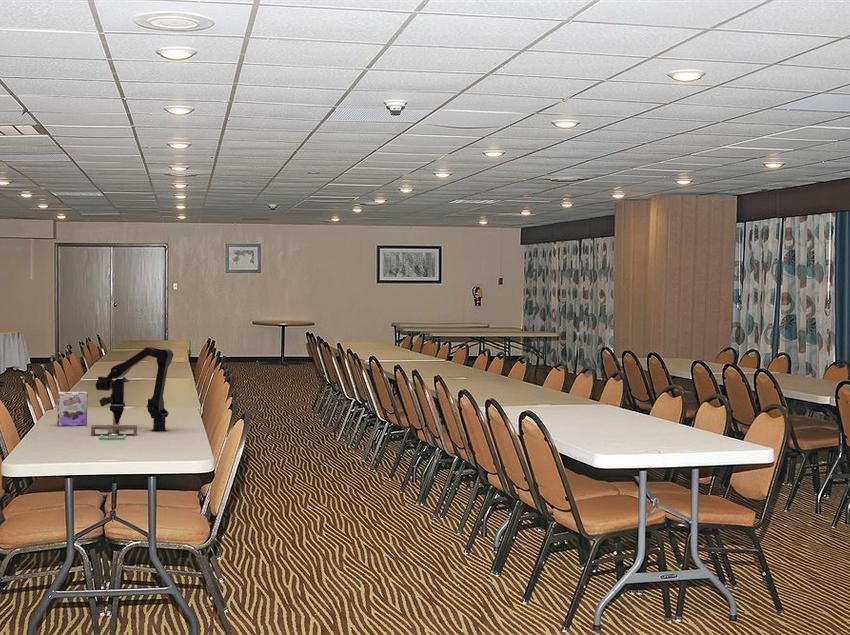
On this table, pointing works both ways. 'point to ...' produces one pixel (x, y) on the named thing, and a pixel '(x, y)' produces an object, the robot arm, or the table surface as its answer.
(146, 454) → the table surface
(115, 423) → the try square
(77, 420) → the candy box
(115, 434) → the steel puck
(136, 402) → the table surface
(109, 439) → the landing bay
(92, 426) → the walnut plinth
